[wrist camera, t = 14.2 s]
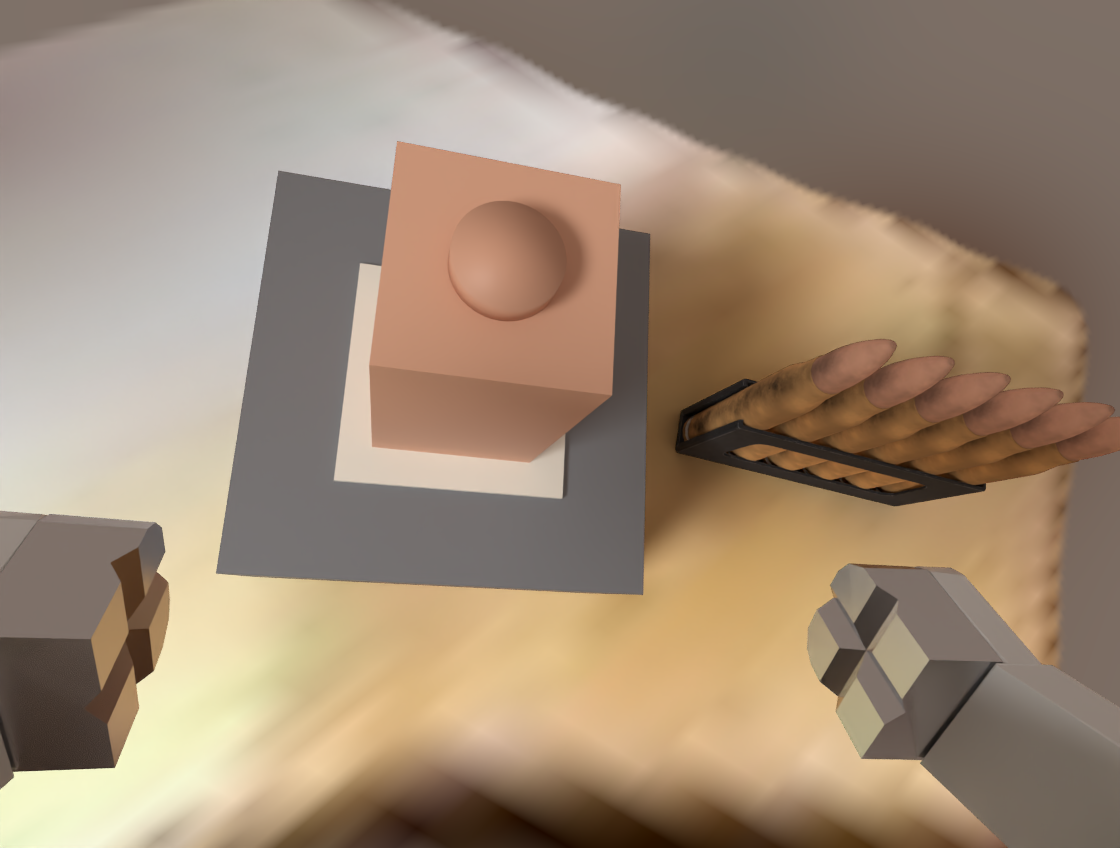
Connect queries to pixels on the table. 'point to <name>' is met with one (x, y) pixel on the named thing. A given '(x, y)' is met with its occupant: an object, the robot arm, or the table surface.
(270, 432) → the base block
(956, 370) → the table surface
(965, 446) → the ammunition clip
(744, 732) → the table surface
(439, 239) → the block
